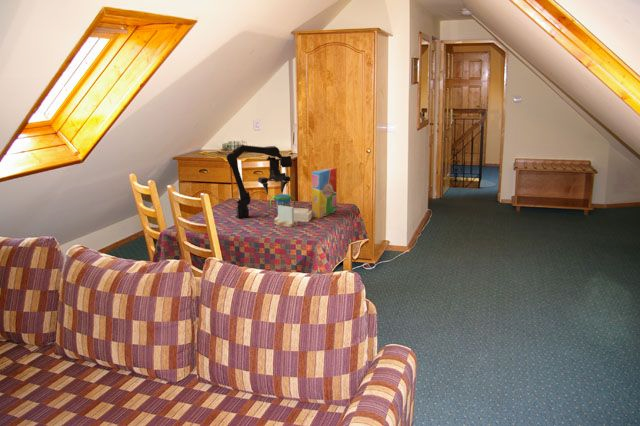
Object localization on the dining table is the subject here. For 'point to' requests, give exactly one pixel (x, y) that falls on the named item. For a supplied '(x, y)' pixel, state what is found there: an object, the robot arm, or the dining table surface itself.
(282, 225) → the stand
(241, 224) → the dining table surface
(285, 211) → the pale grey tapered slat
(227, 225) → the dining table surface
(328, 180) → the game box
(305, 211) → the rack
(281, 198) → the snack cup
